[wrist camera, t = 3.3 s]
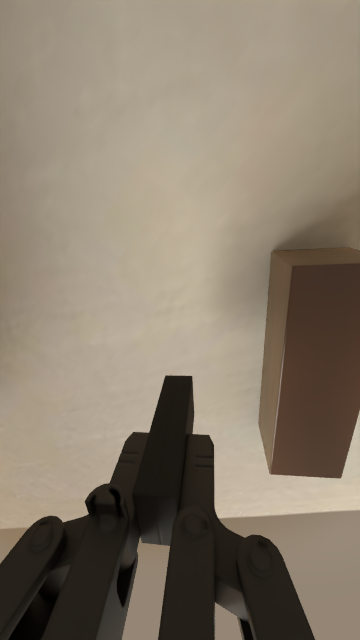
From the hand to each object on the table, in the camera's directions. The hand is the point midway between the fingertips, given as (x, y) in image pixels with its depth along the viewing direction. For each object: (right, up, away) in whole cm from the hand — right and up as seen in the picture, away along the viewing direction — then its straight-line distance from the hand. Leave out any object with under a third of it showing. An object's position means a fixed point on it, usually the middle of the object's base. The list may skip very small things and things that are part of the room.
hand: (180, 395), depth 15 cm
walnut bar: (+8, +2, +4) cm, 9 cm away
